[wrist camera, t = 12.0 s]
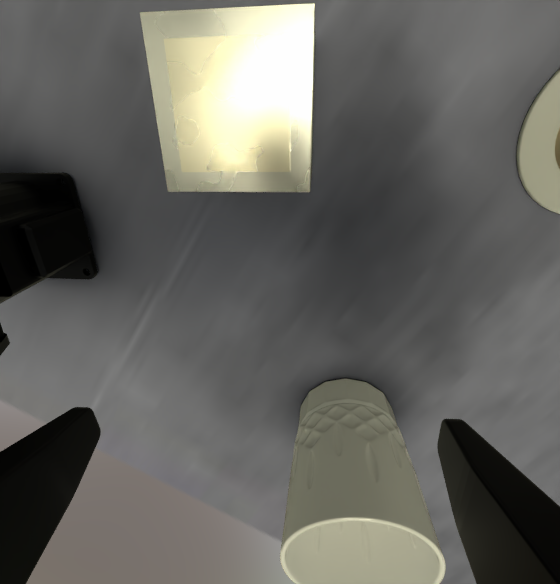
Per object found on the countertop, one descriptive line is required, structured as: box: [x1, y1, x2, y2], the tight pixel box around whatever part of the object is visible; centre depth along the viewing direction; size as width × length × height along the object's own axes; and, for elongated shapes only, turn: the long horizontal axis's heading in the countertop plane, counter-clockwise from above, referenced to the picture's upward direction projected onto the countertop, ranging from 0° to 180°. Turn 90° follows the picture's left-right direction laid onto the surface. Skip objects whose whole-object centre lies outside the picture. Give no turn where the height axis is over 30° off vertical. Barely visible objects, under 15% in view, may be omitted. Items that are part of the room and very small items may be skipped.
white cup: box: [280, 378, 446, 584], centre depth 21 cm, size 8×8×10 cm
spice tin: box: [140, 3, 315, 192], centre depth 15 cm, size 6×6×5 cm
